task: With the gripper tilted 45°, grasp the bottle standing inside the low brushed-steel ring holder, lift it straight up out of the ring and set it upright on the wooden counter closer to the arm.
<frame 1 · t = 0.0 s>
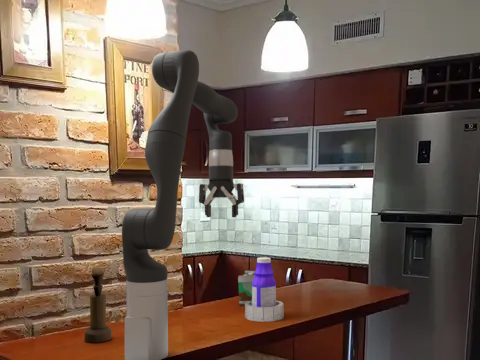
hand: (221, 217, 158), 29 cm above the breakfast bar, tool pointing down, fingers open, 8 cm apart
ring holder: (264, 317, 150), on the breakfast bar
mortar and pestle: (98, 340, 129), on the breakfast bar
bottle: (264, 317, 150), resting in ring holder
food container: (251, 303, 170), on the breakfast bar
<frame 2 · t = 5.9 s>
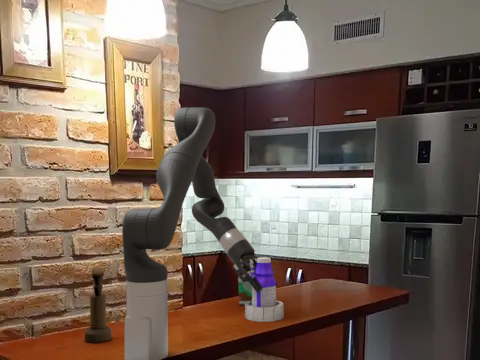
hand: (268, 288, 150), 9 cm above the breakfast bar, tool tilted 45°, fingers closed on bottle, 7 cm apart
bottle: (264, 317, 150), resting in ring holder, touching gripper
everything else where it was.
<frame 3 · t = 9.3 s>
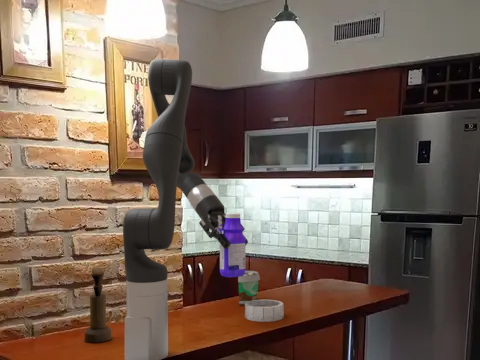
hand: (237, 245, 140), 22 cm above the breakfast bar, tool tilted 45°, fingers closed on bottle, 7 cm apart
bottle: (232, 276, 141), point 13 cm above the breakfast bar, touching gripper
everything else where it was.
when the fingers open (10 cm above the breakfast bar, at t = 12.7 s): bottle drops 1 cm, on the breakfast bar.
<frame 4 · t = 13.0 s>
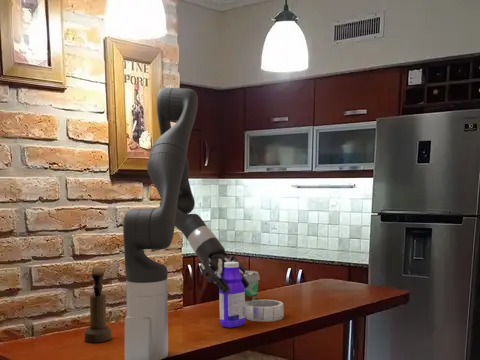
hand: (237, 289, 140), 10 cm above the breakfast bar, tool tilted 45°, fingers open, 8 cm apart
bottle: (232, 326, 141), on the breakfast bar
everything else where it was.
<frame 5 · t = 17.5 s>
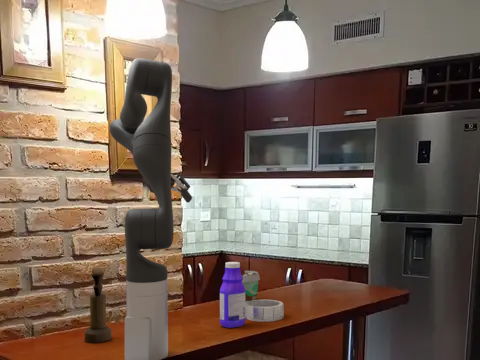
hand: (179, 200, 146), 35 cm above the breakfast bar, tool tilted 45°, fingers open, 8 cm apart
nothing on the breakfast bar moved.
at the end: bottle inside the target area (0.3 cm from its centre), on the breakfast bar; bottle tilted 0°; the gripper is holding nothing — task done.
